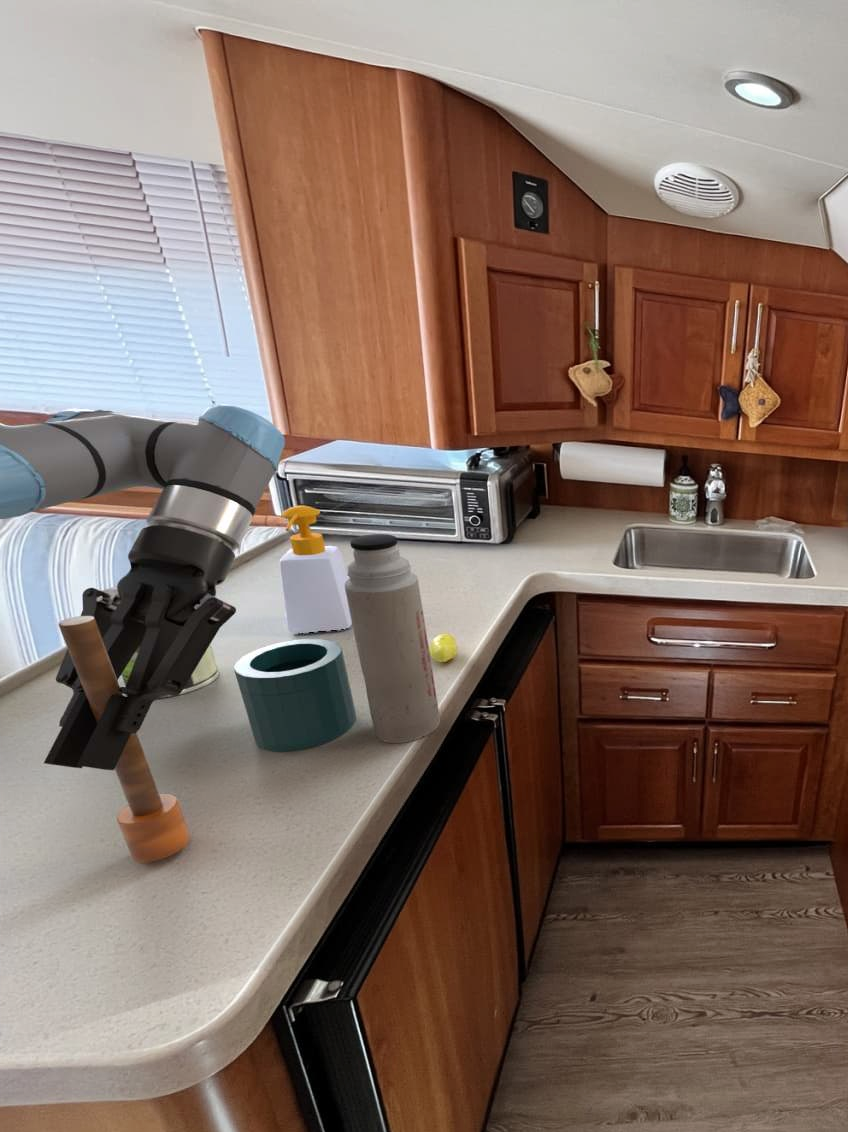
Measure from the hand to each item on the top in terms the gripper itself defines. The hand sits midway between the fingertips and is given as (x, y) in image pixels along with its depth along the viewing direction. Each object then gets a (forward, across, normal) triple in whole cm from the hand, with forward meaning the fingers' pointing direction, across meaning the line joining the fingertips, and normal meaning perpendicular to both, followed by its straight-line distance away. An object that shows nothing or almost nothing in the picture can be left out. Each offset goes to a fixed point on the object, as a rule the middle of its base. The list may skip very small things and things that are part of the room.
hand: (79, 766), depth 58 cm
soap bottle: (-30, +20, -50) cm, 62 cm away
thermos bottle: (-10, -11, -30) cm, 34 cm away
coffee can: (-16, +28, -36) cm, 48 cm away
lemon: (-25, -6, -45) cm, 52 cm away
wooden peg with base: (+6, 0, -12) cm, 14 cm away
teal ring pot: (-9, +2, -29) cm, 31 cm away
